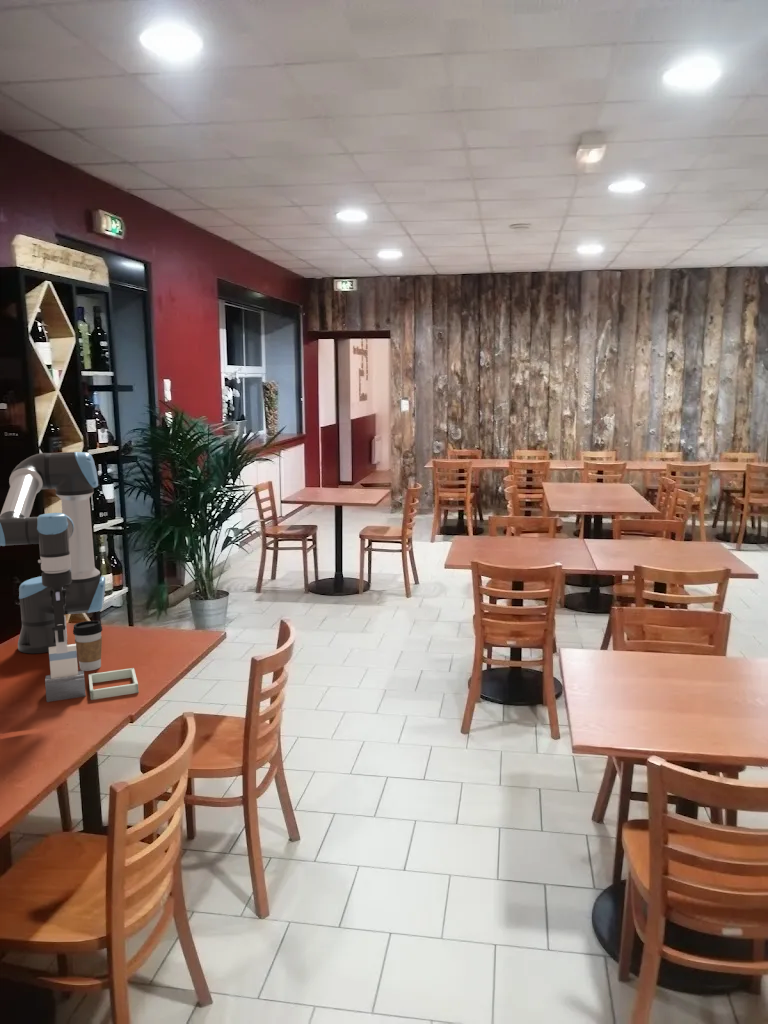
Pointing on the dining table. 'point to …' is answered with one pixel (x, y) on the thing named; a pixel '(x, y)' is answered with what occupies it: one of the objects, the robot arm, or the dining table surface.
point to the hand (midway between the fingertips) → (62, 645)
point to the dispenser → (65, 687)
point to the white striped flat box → (63, 662)
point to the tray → (116, 689)
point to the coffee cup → (88, 644)
